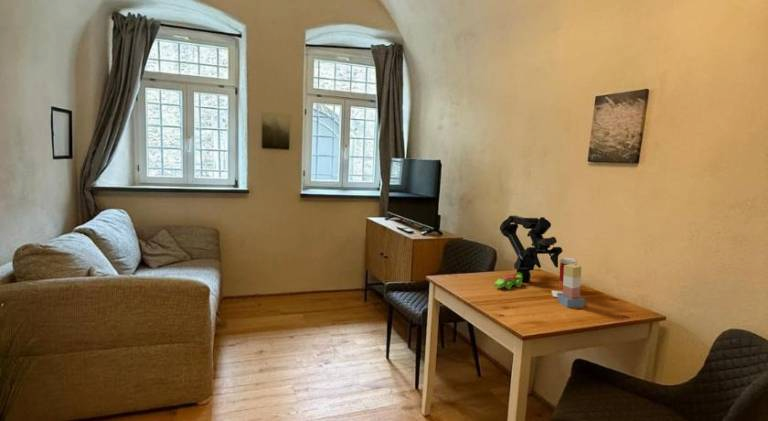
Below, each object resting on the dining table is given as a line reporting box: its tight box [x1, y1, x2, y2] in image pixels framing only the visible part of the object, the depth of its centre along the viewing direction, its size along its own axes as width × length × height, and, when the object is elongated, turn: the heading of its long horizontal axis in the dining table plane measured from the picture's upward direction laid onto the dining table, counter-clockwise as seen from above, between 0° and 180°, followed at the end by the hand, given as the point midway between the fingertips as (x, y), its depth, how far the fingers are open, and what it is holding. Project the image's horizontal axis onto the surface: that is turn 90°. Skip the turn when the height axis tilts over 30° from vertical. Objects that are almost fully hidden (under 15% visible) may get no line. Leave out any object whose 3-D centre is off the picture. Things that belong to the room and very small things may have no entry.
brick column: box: [562, 264, 582, 299], centre depth 187 cm, size 5×5×14 cm
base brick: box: [557, 293, 586, 309], centre depth 188 cm, size 8×8×4 cm
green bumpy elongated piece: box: [493, 271, 523, 290], centre depth 210 cm, size 20×7×6 cm, turn 124°
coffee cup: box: [558, 257, 578, 290], centre depth 210 cm, size 8×8×15 cm
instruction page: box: [551, 290, 563, 298], centre depth 200 cm, size 12×9×1 cm
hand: (548, 267), depth 198 cm, fingers open, 9 cm apart
